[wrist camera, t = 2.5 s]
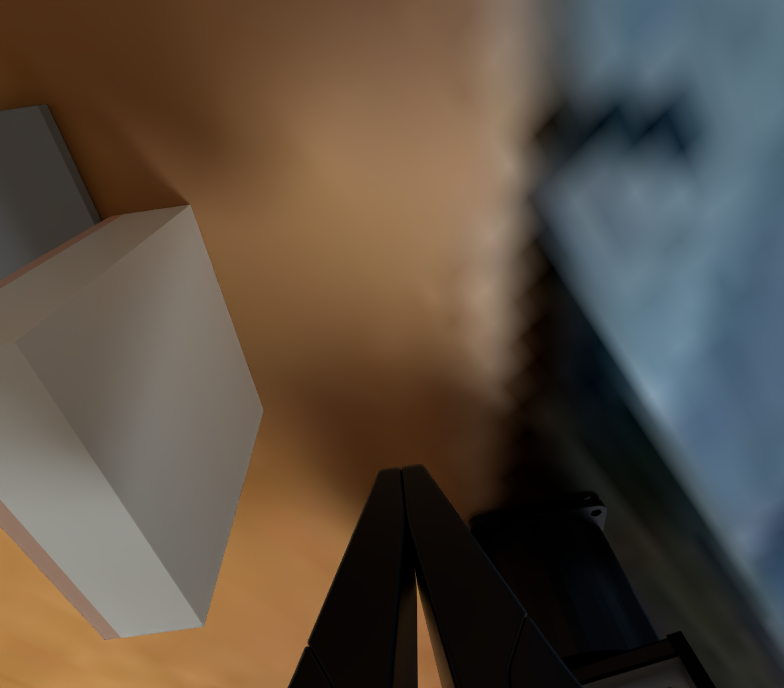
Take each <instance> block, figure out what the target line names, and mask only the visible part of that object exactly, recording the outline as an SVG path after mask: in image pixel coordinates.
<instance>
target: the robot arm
mask: <svg viewBox="0 0 784 688" xmlns="http://www.w3.org/2000/svg"><path fill="white" fill-rule="evenodd" d="M606 513H607V509H606V507H605V505H604V504H603V502H602V501H601V500H599V499H590V500H583V501H576V502H568V503H561V504H554V505H547V506H540V507H532V508H525V509H518V510H511V511H504V512H496V513H489V514H482V515H477V516H474V517H472V518H471V519H470V520H469V529H468V528H467V526H466V525H465V524H464V522H463V521H462V519H461V518H460V516H459V515H458V514H457V512H456V511H455V509H454V508H453V506H452V505H451V504H450V502H449V501H448V499H447V498H446V496H445V495H444V494H443V492H442V491H441V489H440V488H439V486H438V485H437V484H436V482H435V481H434V479H433V478H432V476H431V475H430V474H429V472H428V471H427V469H426V468H425V467H424V466H423V465H422V464H415V465H407V466H404V467H402V471H401V469H400V468H399V467H393V468H386V469H381V470H380V471H379V473H378V475H377V477H376V479H375V482H374V484H373V487H372V489H371V491H370V494H369V496H368V498H367V501H366V503H365V506H364V508H363V510H362V513H361V515H360V518H359V520H358V522H357V525H356V527H355V530H354V532H353V534H352V537H351V539H350V541H349V544H348V546H347V549H346V551H345V553H344V556H343V558H342V561H341V563H340V565H339V568H338V570H337V573H336V575H335V577H334V580H333V582H332V584H331V587H330V589H329V592H328V594H327V596H326V599H325V601H324V604H323V606H322V608H321V611H320V613H319V615H318V618H317V620H316V623H315V625H314V627H313V630H312V632H311V635H310V637H309V639H308V646H309V647H308V646H307V647H305V648H304V651H303V653H302V656H301V658H300V660H299V663H298V665H297V667H296V670H295V672H294V675H293V677H292V679H291V681H290V683H289V686H288V688H418V665H417V587H416V579H417V585H418V590H419V594H420V599H421V603H422V607H423V611H424V615H425V619H426V624H427V628H428V632H429V636H430V640H431V644H432V648H433V652H434V656H435V661H436V665H437V669H438V673H439V677H440V681H441V685H442V688H716V687H715V686H714V684H713V682H712V681H711V679H710V677H709V676H708V674H707V673H706V671H705V669H704V668H703V666H702V665H701V663H700V661H699V660H698V658H697V656H696V655H695V653H694V652H693V650H692V648H691V647H690V645H689V643H688V642H687V640H686V639H685V637H684V635H683V634H682V632H681V631H678V632H675V633H672V634H669V635H666V636H667V638H666V639H663V640H660V638H659V637H658V635H657V633H656V631H655V629H654V627H653V625H652V623H651V622H650V620H649V618H648V616H647V614H646V612H645V610H644V609H643V607H642V605H641V603H640V601H639V599H638V597H637V595H636V594H635V592H634V590H633V588H632V586H631V584H630V582H629V581H628V579H627V577H626V575H625V573H624V571H623V569H622V567H621V566H620V564H619V562H618V560H617V558H616V556H615V554H614V553H613V551H612V549H611V547H610V545H609V543H608V541H607V540H606V538H605V536H604V534H603V529H604V524H605V518H606ZM415 573H416V575H415Z"/></svg>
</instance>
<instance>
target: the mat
mask: <svg viewBox="0 0 784 688" xmlns="http://www.w3.org/2000/svg"><path fill="white" fill-rule="evenodd" d="M100 222H101V219H100V217H99V215H98V212H97V210H96V208H95V206H94V204H93V202H92V200H91V197H90V195H89V193H88V191H87V189H86V187H85V185H84V183H83V180H82V178H81V176H80V174H79V172H78V170H77V168H76V165H75V163H74V161H73V159H72V157H71V155H70V153H69V150H68V148H67V146H66V144H65V142H64V140H63V138H62V136H61V133H60V131H59V129H58V127H57V125H56V123H55V121H54V118H53V116H52V114H51V112H50V110H49V108H48V106H47V104H46V105H36V106H30V107H23V108H16V109H9V110H2V111H0V280H1V279H3V278H4V277H6V276H8V275H10V274H11V273H13V272H15V271H16V270H18V269H20V268H22V267H23V266H25V265H27V264H29V263H30V262H32V261H34V260H36V259H37V258H39V257H41V256H42V255H44V254H46V253H48V252H49V251H51V250H53V249H55V248H56V247H58V246H60V245H62V244H63V243H65V242H67V241H68V240H70V239H72V238H74V237H75V236H77V235H79V234H81V233H82V232H84V231H86V230H87V229H89V228H91V227H93V226H94V225H96V224H98V223H100Z"/></svg>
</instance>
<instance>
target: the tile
mask: <svg viewBox="0 0 784 688" xmlns="http://www.w3.org/2000/svg"><path fill="white" fill-rule="evenodd" d="M263 411H264V410H263V407H262V404H261V402H260V399H259V396H258V393H257V390H256V388H255V385H254V382H253V379H252V376H251V374H250V371H249V368H248V365H247V362H246V360H245V357H244V354H243V351H242V348H241V346H240V343H239V340H238V337H237V334H236V331H235V329H234V326H233V323H232V320H231V317H230V315H229V312H228V309H227V306H226V303H225V301H224V298H223V295H222V292H221V289H220V287H219V284H218V281H217V278H216V275H215V273H214V270H213V267H212V264H211V261H210V258H209V256H208V253H207V250H206V247H205V244H204V242H203V239H202V236H201V233H200V230H199V228H198V225H197V222H196V219H195V216H194V214H193V211H192V208H191V205H184V206H177V207H170V208H163V209H156V210H149V211H142V212H135V213H128V214H121V215H115V216H110V217H108V218H107V219H105V220H103V221H101V222H100V223H98V224H96V225H94V226H93V227H91V228H89V229H87V230H86V231H84V232H82V233H81V234H79V235H77V236H75V237H74V238H72V239H70V240H68V241H67V242H65V243H63V244H62V245H60V246H58V247H56V248H55V249H53V250H51V251H49V252H48V253H46V254H44V255H42V256H41V257H39V258H37V259H36V260H34V261H32V262H30V263H29V264H27V265H25V266H23V267H22V268H20V269H18V270H16V271H15V272H13V273H11V274H10V275H8V276H6V277H4V278H3V279H1V280H0V527H1V528H2V529H3V530H4V531H5V532H6V533H7V534H8V535H9V537H10V538H11V539H12V540H13V541H14V542H15V543H16V544H17V545H18V546H19V547H20V548H21V550H22V551H23V552H24V553H25V554H26V555H27V556H28V557H29V558H30V559H31V560H32V562H33V563H34V564H35V565H36V566H37V567H38V568H39V569H40V570H41V571H42V572H43V574H44V575H45V576H46V577H47V578H48V579H49V580H50V581H51V582H52V583H53V584H54V585H55V587H56V588H57V589H58V590H59V591H60V592H61V593H62V594H63V595H64V596H65V597H66V599H67V600H68V601H69V602H70V603H71V604H72V605H73V606H74V607H75V608H76V609H77V611H78V612H79V613H80V614H81V615H82V616H83V617H84V618H85V619H86V620H87V621H88V622H89V624H90V625H91V626H92V627H93V628H94V629H95V630H96V631H97V632H98V633H99V634H100V636H101V637H102V638H103V639H104V640H110V639H117V638H124V637H131V636H139V635H146V634H153V633H160V632H168V631H175V630H182V629H189V628H197V627H204V625H205V621H206V618H207V614H208V610H209V607H210V603H211V599H212V596H213V592H214V589H215V585H216V581H217V578H218V574H219V571H220V567H221V563H222V560H223V556H224V552H225V549H226V545H227V542H228V538H229V534H230V531H231V527H232V524H233V520H234V516H235V513H236V509H237V505H238V502H239V498H240V495H241V491H242V487H243V484H244V480H245V477H246V473H247V469H248V466H249V462H250V458H251V455H252V451H253V448H254V444H255V440H256V437H257V433H258V430H259V426H260V422H261V419H262V415H263Z"/></svg>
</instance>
